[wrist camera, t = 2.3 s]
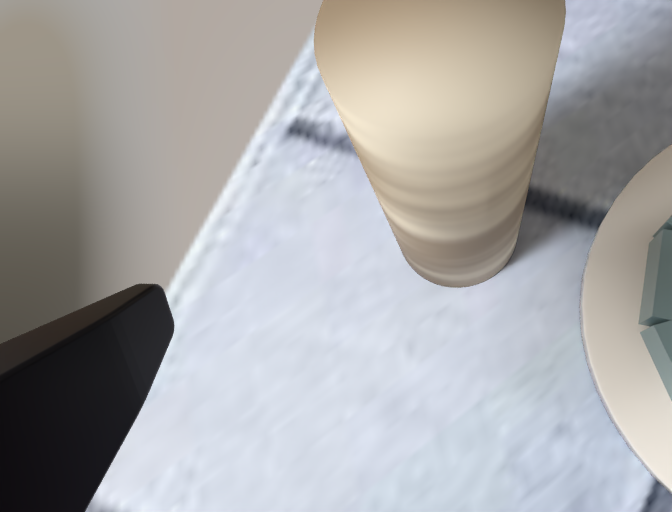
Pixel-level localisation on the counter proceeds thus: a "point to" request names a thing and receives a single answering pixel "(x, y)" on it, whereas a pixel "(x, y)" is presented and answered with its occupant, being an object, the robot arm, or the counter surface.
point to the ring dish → (634, 315)
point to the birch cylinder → (444, 118)
